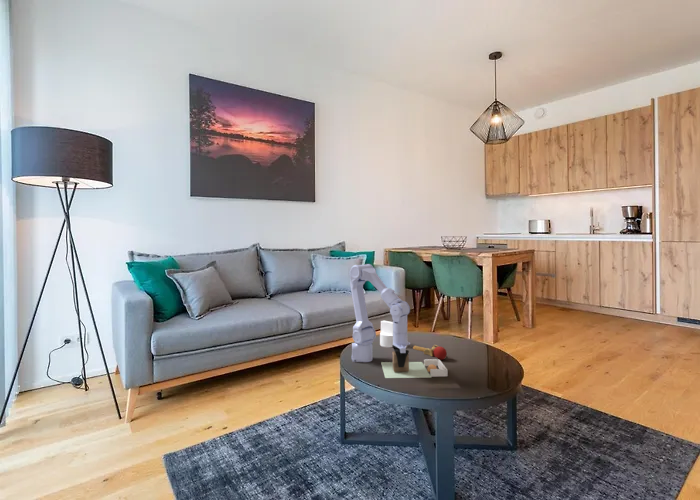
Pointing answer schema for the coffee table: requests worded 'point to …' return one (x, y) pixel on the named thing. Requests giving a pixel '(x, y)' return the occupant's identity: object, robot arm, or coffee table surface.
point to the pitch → (416, 370)
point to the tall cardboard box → (395, 364)
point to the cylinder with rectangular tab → (386, 334)
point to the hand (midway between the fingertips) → (400, 365)
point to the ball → (431, 367)
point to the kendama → (433, 351)
